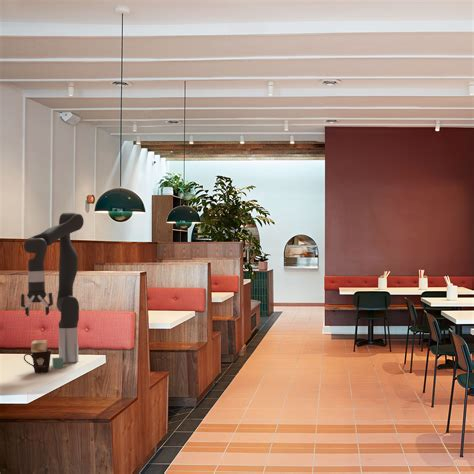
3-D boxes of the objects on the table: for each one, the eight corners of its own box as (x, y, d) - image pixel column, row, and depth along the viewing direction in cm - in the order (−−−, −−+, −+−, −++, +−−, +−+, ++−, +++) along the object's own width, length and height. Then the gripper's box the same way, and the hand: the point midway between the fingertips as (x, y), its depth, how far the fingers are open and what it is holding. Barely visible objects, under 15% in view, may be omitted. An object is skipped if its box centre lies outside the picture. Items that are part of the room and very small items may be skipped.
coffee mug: (55, 370, 321) (54, 349, 321) (44, 374, 312) (43, 352, 313) (33, 369, 324) (33, 348, 324) (22, 373, 316) (22, 351, 316)
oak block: (47, 348, 325) (46, 339, 325) (44, 351, 314) (44, 343, 314) (33, 348, 323) (33, 340, 324) (31, 352, 313) (31, 343, 313)
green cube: (62, 366, 333) (61, 357, 333) (63, 368, 329) (63, 358, 329) (52, 367, 331) (52, 357, 331) (53, 368, 327) (53, 359, 327)
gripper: (53, 279, 327) (54, 314, 326) (22, 280, 325) (23, 315, 325) (50, 280, 319) (51, 315, 319) (19, 281, 317) (20, 316, 317)
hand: (37, 315), depth 322 cm, fingers open, 8 cm apart
